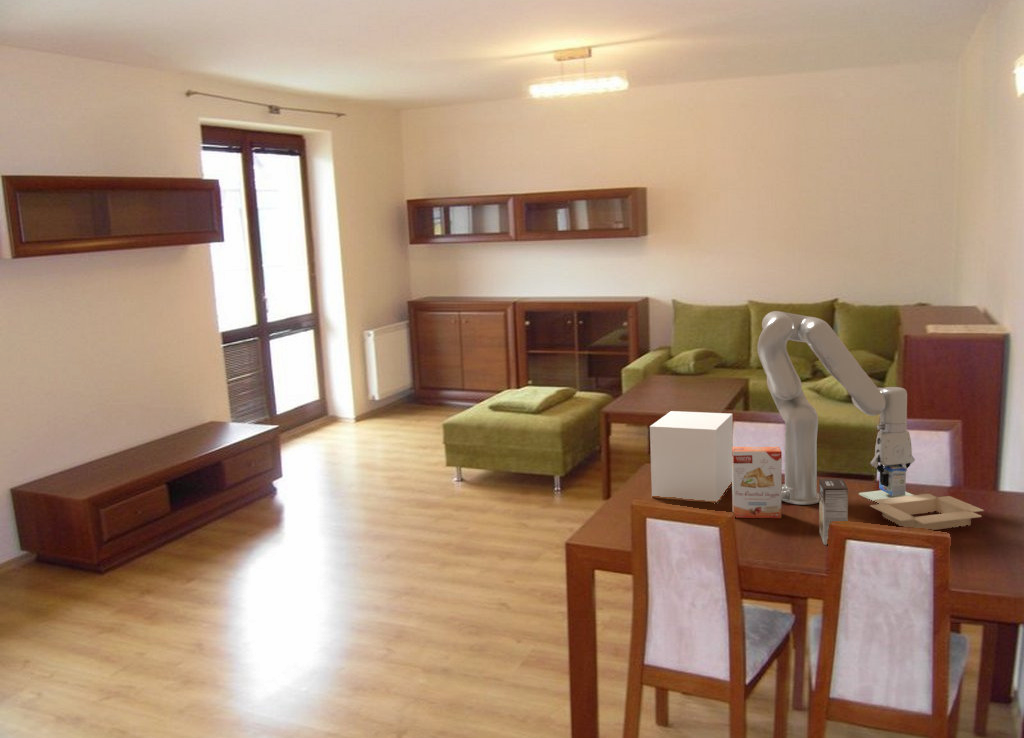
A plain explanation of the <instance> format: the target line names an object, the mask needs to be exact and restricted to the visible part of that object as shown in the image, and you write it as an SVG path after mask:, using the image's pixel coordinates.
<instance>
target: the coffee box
mask: <svg viewBox="0 0 1024 738" xmlns="http://www.w3.org/2000/svg"><path fill="white" fill-rule="evenodd" d="M818 483H819V484H818V485H819V489H818V493H819V506H818V508H819V511H818V513H819V514H818V515H819V517H818V525H819V526H818V529H819V530H818V531H819V535H820V539H821V541H822V543H823V545H825V546H828V545H827V539H828V529H829V524H830V522H832V521H848V519H849V518H848V516H849V513H848V512H849V511H848V510H849V488H848V486H847V484H846V482H845V481H844V478H819V481H818Z"/></svg>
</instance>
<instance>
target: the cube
mask: <svg viewBox="0 0 1024 738" xmlns="http://www.w3.org/2000/svg"><path fill="white" fill-rule="evenodd" d="M733 417H734V415H733V413H727V412H723V413H722V412H704V411H703V412H702V411H701V412H699V411H679V410H677V411H676V410H671V411H669V412H667V413H666V414H665V415H663V416H661V418H659V419H658V420H657V421H655V422H654V423H652V424H651V425H649V441H650V442H649V443H650V447H649V448H650V475H651V477H650V478H651V479H650V480H651V497H652V496H660V497H676V498H683V499H694V500H705V501H716V502H717V501H718V500H719V499H720V497H721V496H722V495H723V493H724V492H725V490H726V489H727V488H728V486H729V485H730V484H731V482H732V447H734V442H733V441H734V437H733V436H734V435H733V434H734V430H733V429H734V428H733V427H734V426H733V425H734V424H733V422H734V421H733ZM723 496H724V495H723ZM720 500H721V499H720Z"/></svg>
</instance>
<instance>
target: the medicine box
mask: <svg viewBox="0 0 1024 738" xmlns="http://www.w3.org/2000/svg"><path fill="white" fill-rule="evenodd" d="M883 468H884V467H883ZM887 474H888V475H889V481H888V486H887V487H886V486H883V485H881V484H880V477H879V483H878V484H879V485H878V487H879V490H882V491H884V492H886V493H888V494H890V495H892V496H899V495H905V491H906V490H907V489H906V487H907V486H906V485H907V484H906V483H907V481H906V480H907V478H906V477H907V471H906V468H903V467H901V466H899V465H889V466H888V470H887ZM906 492H907V491H906Z"/></svg>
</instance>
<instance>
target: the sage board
mask: <svg viewBox="0 0 1024 738" xmlns="http://www.w3.org/2000/svg"><path fill="white" fill-rule="evenodd" d="M911 495H914V494H912V493H910V492H908V491H905V495H899V496H892V495H890V494H888V493H886V492H884V491H882V490H880V489H879V490H873V491H863V492H859V493H858V496H861V497H863V498H866V499H867V500H869V499H870V500H869V501H871V500H872V501H871V502H873V501H874V500H877V499H886V498H894V497H903V496H911ZM877 503H878V502H877ZM877 503H876V504H877ZM879 504H880V503H879Z"/></svg>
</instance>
